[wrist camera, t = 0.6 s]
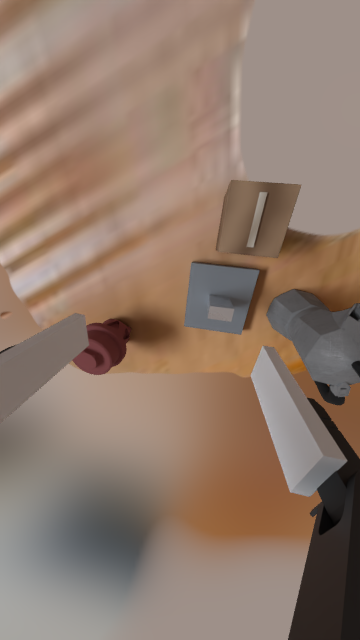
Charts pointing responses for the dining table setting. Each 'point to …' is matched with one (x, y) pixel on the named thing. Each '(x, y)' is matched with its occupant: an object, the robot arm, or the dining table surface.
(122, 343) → the mechanical component
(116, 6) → the dining table surface
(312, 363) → the coffeepot
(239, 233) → the cardboard box
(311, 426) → the robot arm
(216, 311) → the shaft stand
